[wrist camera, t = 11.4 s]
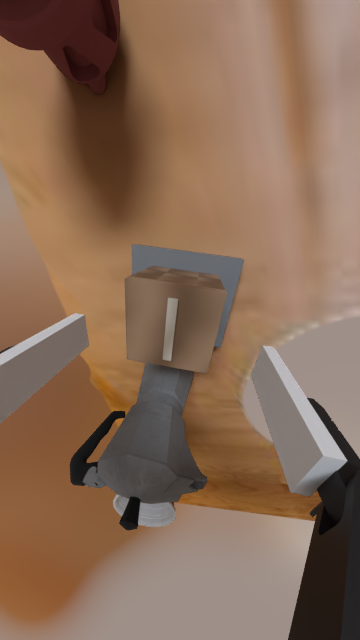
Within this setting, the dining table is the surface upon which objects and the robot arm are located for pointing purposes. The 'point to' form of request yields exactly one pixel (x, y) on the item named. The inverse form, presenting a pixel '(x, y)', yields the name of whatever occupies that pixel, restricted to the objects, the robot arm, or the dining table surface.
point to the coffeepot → (144, 447)
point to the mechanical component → (66, 34)
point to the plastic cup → (149, 512)
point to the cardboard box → (173, 317)
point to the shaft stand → (193, 262)
